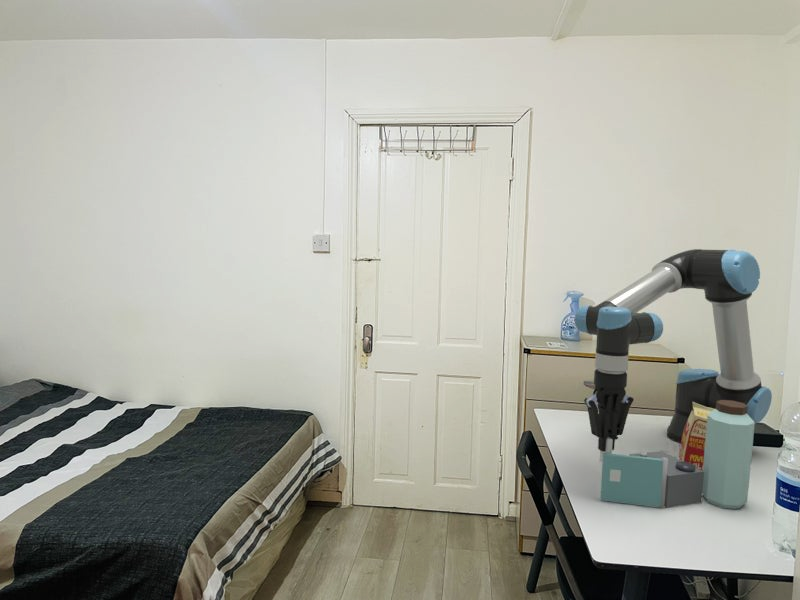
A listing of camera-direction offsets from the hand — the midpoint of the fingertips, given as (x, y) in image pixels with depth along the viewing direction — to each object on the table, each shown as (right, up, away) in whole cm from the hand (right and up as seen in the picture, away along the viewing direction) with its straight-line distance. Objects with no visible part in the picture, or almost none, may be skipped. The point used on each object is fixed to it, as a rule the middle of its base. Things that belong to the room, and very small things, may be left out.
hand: (605, 462), depth 139 cm
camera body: (+16, -9, +4) cm, 19 cm away
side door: (+6, -9, -3) cm, 11 cm away
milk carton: (+32, -8, +17) cm, 37 cm away
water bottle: (+29, -10, 0) cm, 31 cm away
